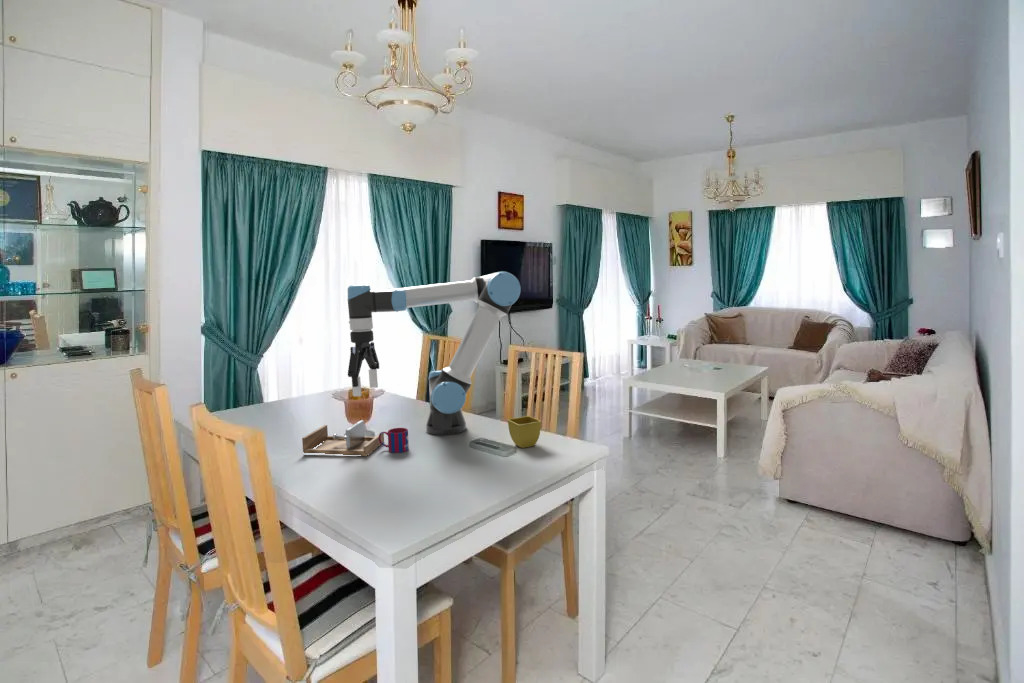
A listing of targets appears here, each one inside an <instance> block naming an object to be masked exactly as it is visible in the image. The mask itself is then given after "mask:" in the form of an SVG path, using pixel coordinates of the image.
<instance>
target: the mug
mask: <svg viewBox="0 0 1024 683" xmlns="http://www.w3.org/2000/svg"><path fill="white" fill-rule="evenodd" d="M382 433H384V434H385V435H386V436H387V444H385V443H382V442H381V439H380V436H381V434H382ZM378 435H379V442H380V444H381V445H380V446H382V447H385V448H387V449H388V452H389V453H392V454H395V453H396V454H398V453H399V454H400V453H401V454H402V453H405V452H408V451H409V447H410V446H409V429H408V428H406V427H394V428H390V429H388V431H380V433H378Z"/></svg>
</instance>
